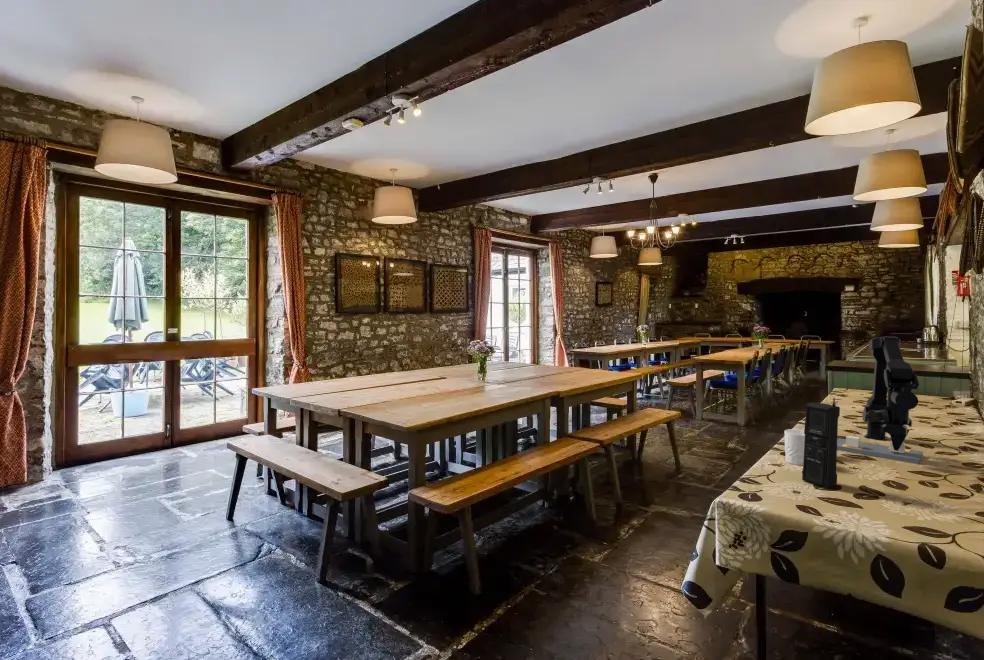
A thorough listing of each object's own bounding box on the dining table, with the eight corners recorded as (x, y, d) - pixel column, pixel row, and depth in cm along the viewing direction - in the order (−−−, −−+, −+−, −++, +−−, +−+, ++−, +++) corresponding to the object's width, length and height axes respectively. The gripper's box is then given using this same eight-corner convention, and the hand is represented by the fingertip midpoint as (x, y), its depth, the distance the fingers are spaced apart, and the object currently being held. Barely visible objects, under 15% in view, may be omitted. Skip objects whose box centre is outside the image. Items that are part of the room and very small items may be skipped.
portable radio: (797, 479, 144) (799, 394, 143) (810, 476, 147) (813, 393, 146) (824, 488, 137) (827, 399, 136) (838, 485, 140) (841, 397, 138)
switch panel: (838, 442, 185) (838, 437, 185) (922, 455, 168) (922, 451, 168) (830, 449, 176) (830, 444, 176) (918, 464, 159) (919, 459, 159)
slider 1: (847, 443, 176) (847, 435, 176) (859, 445, 174) (860, 437, 173) (845, 445, 174) (845, 437, 174) (858, 447, 171) (858, 438, 171)
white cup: (802, 468, 155) (803, 436, 155) (778, 461, 162) (779, 430, 162) (817, 464, 159) (818, 433, 158) (792, 457, 166) (793, 428, 165)
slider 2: (891, 449, 169) (891, 440, 169) (904, 451, 167) (905, 442, 167) (890, 451, 167) (890, 442, 167) (903, 453, 165) (904, 444, 165)
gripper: (872, 397, 177) (870, 440, 177) (863, 404, 164) (861, 450, 164) (913, 401, 169) (911, 446, 170) (906, 409, 156) (904, 458, 156)
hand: (896, 450), depth 165 cm, fingers closed
